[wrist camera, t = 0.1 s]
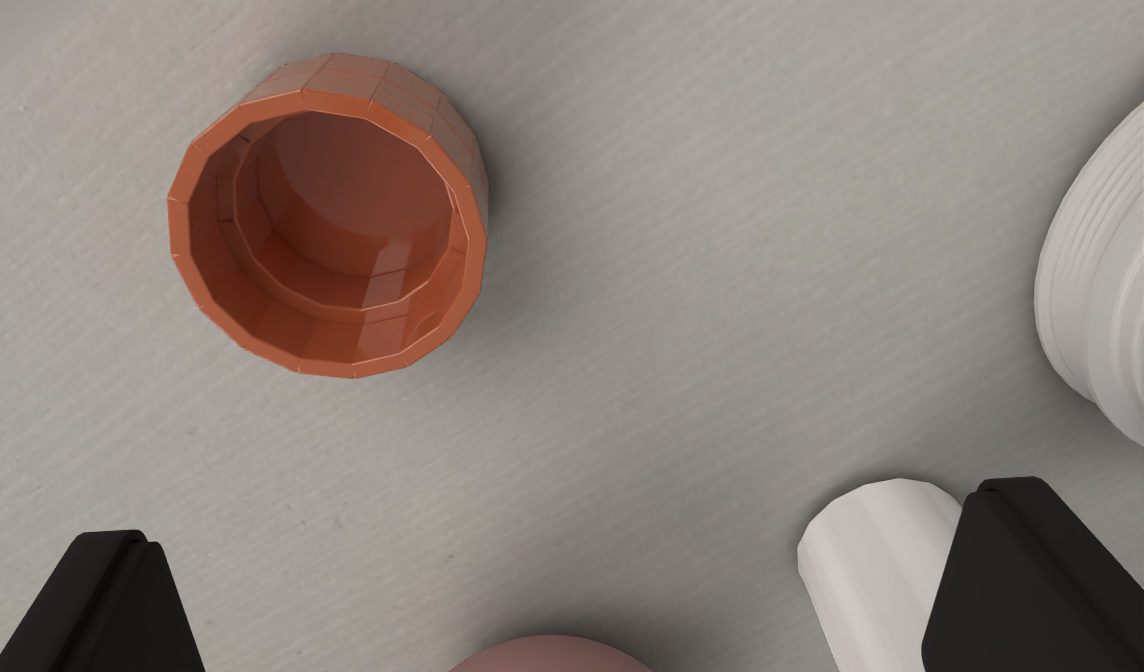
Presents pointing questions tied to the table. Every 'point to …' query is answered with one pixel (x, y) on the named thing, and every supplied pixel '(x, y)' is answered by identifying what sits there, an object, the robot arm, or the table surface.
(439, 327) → the flower pot
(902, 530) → the cup
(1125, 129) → the gray bolted wheel hub
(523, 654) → the mortar and pestle
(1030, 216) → the table surface
